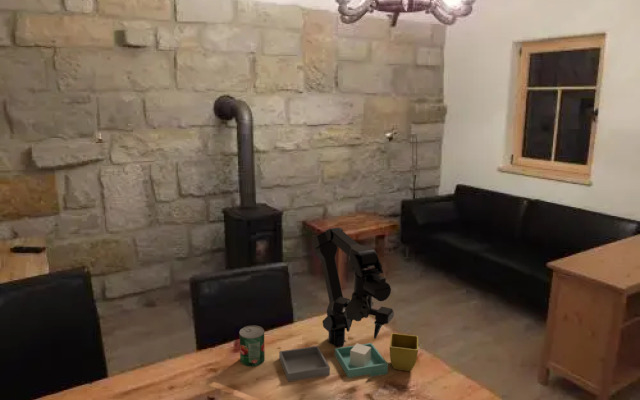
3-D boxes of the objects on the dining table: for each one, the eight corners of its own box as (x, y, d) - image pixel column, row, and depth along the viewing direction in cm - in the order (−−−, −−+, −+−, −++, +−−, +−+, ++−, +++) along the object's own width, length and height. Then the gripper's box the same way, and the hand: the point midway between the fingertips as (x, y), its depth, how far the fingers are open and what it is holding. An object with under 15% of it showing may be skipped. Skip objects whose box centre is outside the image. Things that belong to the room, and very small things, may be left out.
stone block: (349, 364, 150) (350, 350, 149) (356, 357, 154) (356, 343, 153) (364, 369, 147) (364, 354, 146) (370, 361, 152) (371, 347, 151)
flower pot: (416, 376, 146) (418, 349, 144) (388, 372, 147) (389, 346, 146) (416, 360, 154) (418, 335, 152) (389, 357, 156) (391, 332, 154)
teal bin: (334, 357, 155) (334, 348, 154) (371, 352, 159) (371, 342, 158) (348, 380, 143) (348, 370, 142) (387, 373, 147) (387, 363, 146)
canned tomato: (269, 362, 152) (269, 331, 150) (250, 372, 146) (250, 340, 144) (254, 353, 157) (253, 323, 155) (235, 362, 152) (234, 331, 149)
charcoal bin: (279, 361, 153) (279, 351, 152) (317, 355, 156) (317, 345, 156) (288, 384, 141) (288, 373, 140) (329, 377, 144) (329, 367, 144)
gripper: (324, 291, 142) (323, 338, 146) (382, 305, 134) (380, 354, 137) (340, 279, 152) (339, 323, 155) (395, 291, 143) (393, 337, 147)
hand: (361, 334), depth 148 cm, fingers open, 9 cm apart
